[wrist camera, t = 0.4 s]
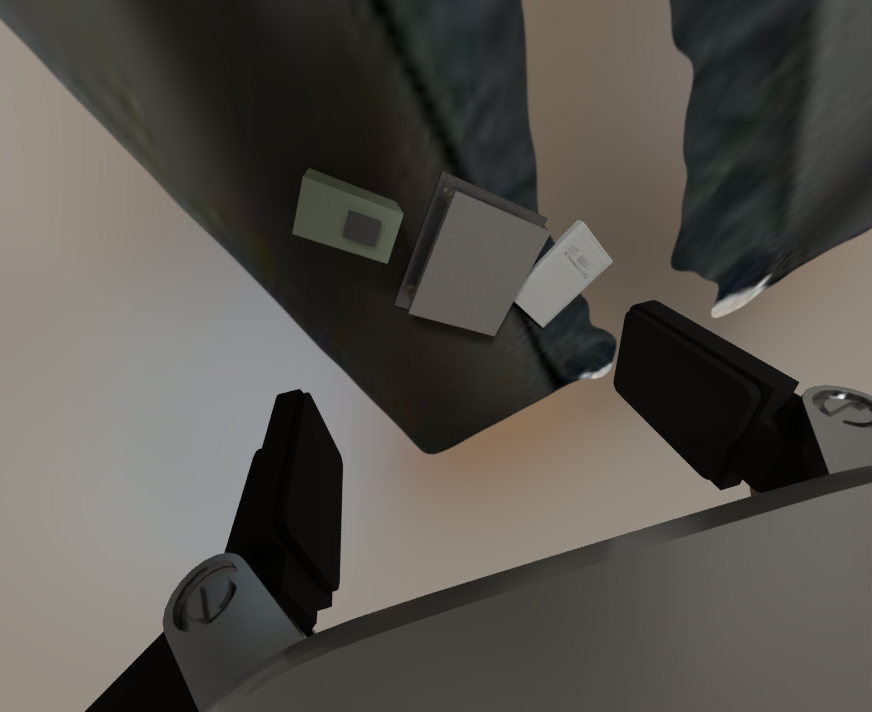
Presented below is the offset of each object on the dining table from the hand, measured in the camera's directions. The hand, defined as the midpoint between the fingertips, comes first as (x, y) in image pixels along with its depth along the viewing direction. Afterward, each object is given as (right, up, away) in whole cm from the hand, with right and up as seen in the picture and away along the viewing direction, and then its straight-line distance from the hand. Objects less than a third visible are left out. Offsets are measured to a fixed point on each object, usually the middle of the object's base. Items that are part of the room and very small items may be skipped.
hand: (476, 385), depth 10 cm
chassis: (+3, +12, +32) cm, 35 cm away
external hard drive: (+15, +12, +37) cm, 42 cm away
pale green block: (-10, +16, +26) cm, 33 cm away
